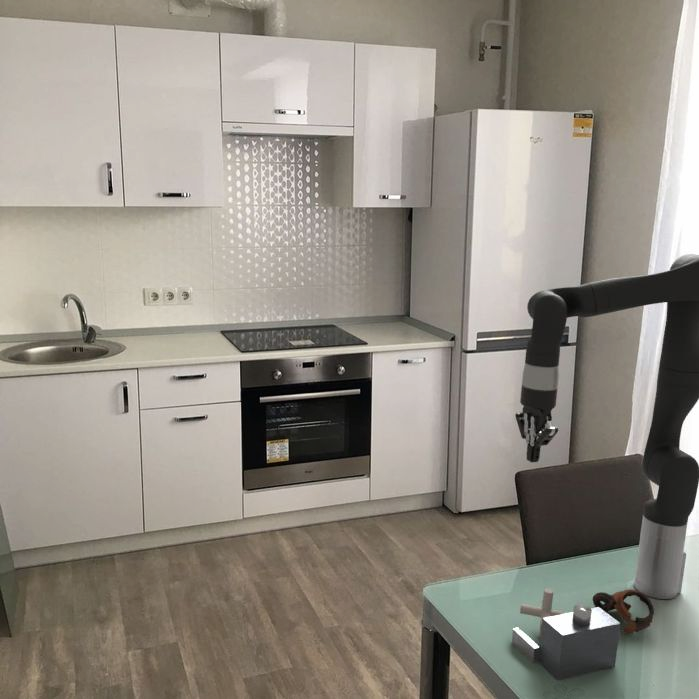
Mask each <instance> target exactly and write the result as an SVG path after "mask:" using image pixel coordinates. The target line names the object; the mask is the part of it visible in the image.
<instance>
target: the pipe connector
mask: <svg viewBox="0 0 699 699" xmlns="http://www.w3.org/2000/svg"><path fill="white" fill-rule="evenodd" d="M553 601H554V590H553V589H552V588H549V587H546V588H544V590H543V597H542V601H541V602H542V603H541V607H540V606H534V605H530V604H524V603H521V604H520V607H519V608H520V609H519V613H520V614H522V615H527V616H532V617H536V618H537V617H538V618H540V622H539V623H540V624H539V632H538V637H539V638H540V637H541V628H542V618H545V617H550V616H556V615H561V614H566V613H568V612H565V611H560V610H555V609H552V607H553Z"/></svg>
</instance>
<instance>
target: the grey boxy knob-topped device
mask: <svg viewBox="0 0 699 699" xmlns="http://www.w3.org/2000/svg"><path fill="white" fill-rule="evenodd" d="M620 628H621V622H620V621H618V620H617V619H615V617H613V616H611V615H610V614H609V613H606V612H605V611H603V610H602V609H601V608H600V607H592V608H591V607H590V606H588V605H586V604H579V603H577V604H575V605H574V606H573V611H572V612H567V613H566V614H561V615H556V616H550V617H545V618H542V628H541V637H539V638H540V640H539V645H538V644H537V643H535V641H534V640H532V638H530V637H529V636H528V635H527V634H526V633H525V632H524V631H522V629H520V628H519V627H515V628H512V634H511V635H512V637H511V644H513V646H515V647H516V648H517V649H518V650H519V651H520V653H522V654H523V655H524V656H525V657H526V658H527V659H528V660H529V661H530V662H531V663H538V664H540V665H541V666H542V667H543V668H544V669H545V670H546V671H547V672H548V673H549V674H550V675H551V676H552V677H554V678H555V680H557V681H561V680H565V679H568V678H573V677H574V678H575V677H577V676H583V675H586V674H591V673H595V672H599V671H604V670H608V669H611V668H615V667H616V661H617V652H618V647H619V646H618V645H619V637H620V631H621V630H620ZM582 674H583V675H582Z"/></svg>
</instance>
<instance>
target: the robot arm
mask: <svg viewBox="0 0 699 699" xmlns="http://www.w3.org/2000/svg"><path fill="white" fill-rule="evenodd" d="M662 303H666V316H665V317H666V320H665V324H664V325H665V326H664V330H663V331H664V332H663V338H662V343H661V344H662V345H661V346H662V347H661V353H660V359H659V364H658V371H657V372H658V374H657V379H656V392H655V397H654V403H653V404H654V405H653V411H652V419H651V424H650V428H649V431H648V436H647V440H646V443H645V447H644V453H643V457H642V470H643V473H644V475H645V477H646V478H647V479H648V480H649V482H652V483H654V484H655V485H657V486H658V490H657V495H656V498H651V499H649V500H647V501H646V502H645V503H644V505H643V512H642V520H641V528H640V534H639V535H640V536H639V545H638V551H637V560H636V568H635V576H634V583H633V584H634V585H633V586H634V588H635V590H636V591H639V592H641V593H643V594H644V595H645V596H647V597H650V598H654V599H659V600H671V599H674V598H676V597H677V596H678V594H680V593H682V587H683V581H684V580H683V579H684V575H685V574H684V573H685V567H686V561H687V553H686V552H685V550H684V549H685V542H686V536H687V535H686V534H687V528H688V522H689V521H688V520H689V517H690V516H691V514H692V512H693V510H694V508H695V502H696V498H697V493H698V489H699V488H698V487H699V463H698V461H697V460H696V458H695V457H693V456H692V455H690V454H688V453H687V452H685V451H682V450H681V448H680V444H681V443H680V442H681V441H680V440H681V434H682V428H683V424H684V422H685V420H686V418H687V417H688V416H689V414H690V412H692V410H693V408H694V407H695V405H696V404H697V403H698V401H699V254H694V253H686V254H683V255H681V256H679V257H678V258H677V259H675V261H673V262H672V264H671V266H670V267H669V270H665V271H662V272H656V273H652V274H643V275H634V276H624V277H623V276H622V277H614V278H607V279H602V280H597V281H591V282H588V283H584V284H583V283H582V284H581V285H574V286H566V287H558V288H557V287H556V288H549V289H543V290H540V291H538V292H536V293H534V294H533V295H532V296H530V298H529V300H528V302H527V308H526V309H527V313H528V315H529V317H530V318H531V319H532V327H531V336H530V337H529V338H528V339H527V340H528V341H527V343H526V347H525V349H526V350H525V358H524V367H523V371H522V380H521V388H520V389H521V390H520V400H519V401H520V402H519V403H520V404H521V405H522V406H523V407H522V411H520V412H518V413H515V415H514V416H515V420H516V422H517V426H518V430H519V434H520V436H521V439H524V440H525V444H526V446H527V447H526V460H527V461H528V462H529V463H538V462H539V460H540V457H541V447H544V446H547V445H549V444H550V442H551V441H552V440H553V439H554V437H555V436H556V435H557V434H558V433H559V428H558V427H557V426H554V425H553V424H552V421H553V417H552V411H553V409H555V408H556V406H557V400H558V399H557V396H558V387H559V378H560V377H559V376H560V375H559V374H560V373H559V372H560V371H559V370H560V369H559V365H560V356H561V343H562V340H563V338H564V337H563V336H564V333H565V329H566V327H567V326H566V325H567V320H568V318H573V317H580V318H591V317H595V316H600V315H605V314H611V313H615V312H619V311H620V312H621V311H623V310H625V311H626V310H628V309H629V310H630V309H633V308H639V307H643V306H648V305H655V304H662Z"/></svg>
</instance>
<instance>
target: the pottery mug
mask: <svg viewBox="0 0 699 699" xmlns="http://www.w3.org/2000/svg"><path fill="white" fill-rule="evenodd" d="M633 596H635V597H637V598H639V601H641V602H642V603H644V604H645V605H646V606H647V608H648V609H647V610H648V615H647V616H644V617H640V616H636V617H635V620H634V619H632V613H631V611H630V609H631V608H632V605H631V604H630V603H627V602H626V601H625V600H626V599H627V598H628V597H633ZM592 601H593V602H592V603H593V605H594V608H596V607H600V608H601V609H602V610H603V611H605V612H606V613H607V614H609V612H610V611H613V610H615V611H616V612H617V613H618V614H619V615H620V617H621V619H623V621H624V622H625V623H626V625H625V627H624V628H623V633H624V634H626V635H629V636H631V635H632V634H634V632H635V633H638V632H641V631H643V630H646V629H648V628H649V627H651V623H653V621H654V620H653V618H654V614H655V608H654V604H653V602H652V601H651V599H649V596H647V595H645V594H643V593H641V592H639V591H638V590H637V589H625V590H621V591H617V592H616V591H615V593H613V594H610V593H607V592H603V591H600V592H596V593H594V595H593V596H592Z"/></svg>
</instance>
